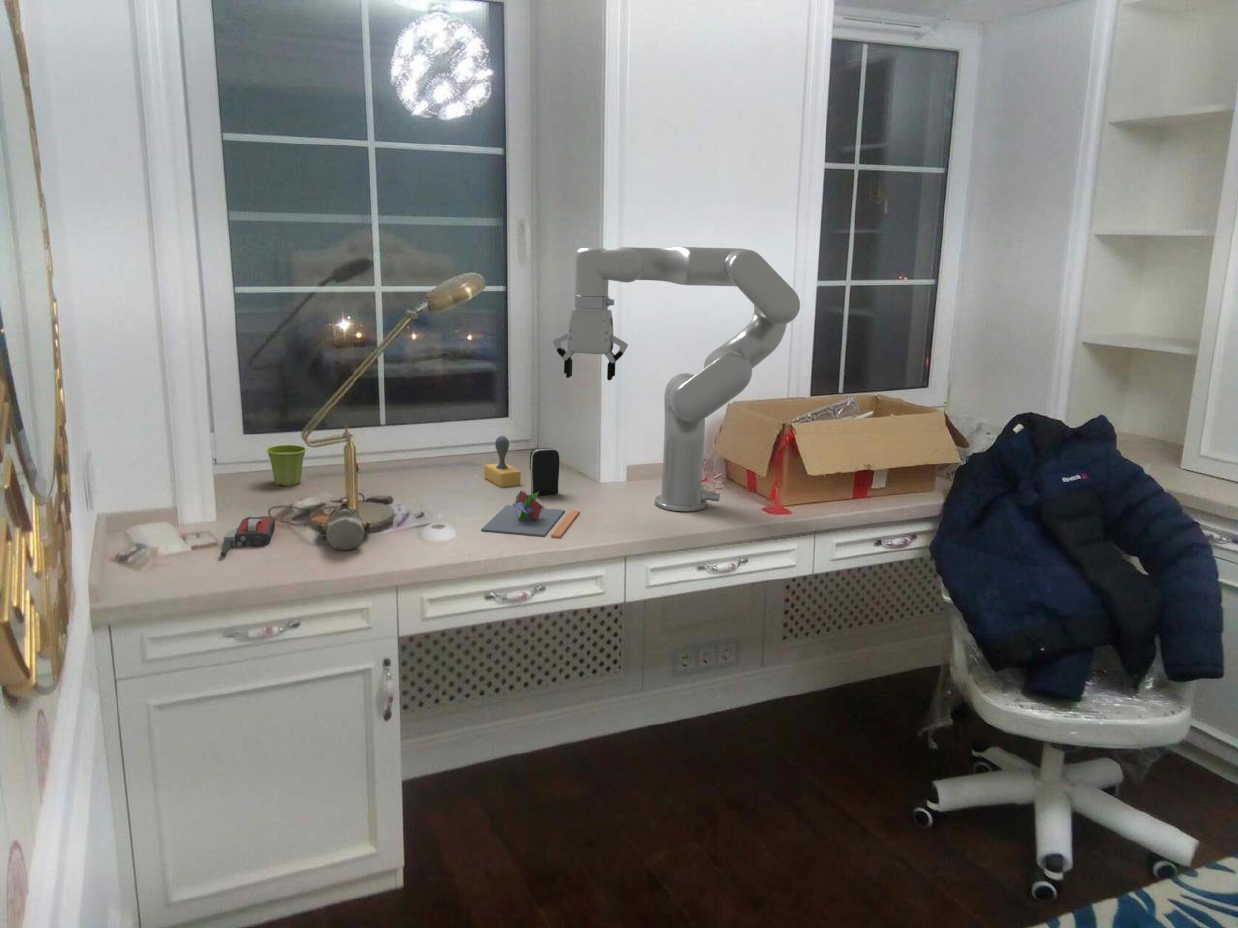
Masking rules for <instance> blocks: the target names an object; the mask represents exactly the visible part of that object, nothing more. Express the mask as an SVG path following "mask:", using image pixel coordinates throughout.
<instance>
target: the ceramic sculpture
mask: <svg viewBox="0 0 1238 928" xmlns="http://www.w3.org/2000/svg"><path fill="white" fill-rule="evenodd" d="M328 515H329V516H328V518H327V520H326V523H324V522H320V523H319V524H318V525H317V530H318V531H319V533H320V534H322V535H323V536H325V537H326V539H327V541H328V544H329V545H330V546H331V547H332V548H333V549H335V550H337V551H338V550H339V551H344V552H345V551H352V550H354V549H358V547H360V545H361V544H362V543H363V541H364V538H365V534H366V533H367V532H368V531H369V530H370V527H371V523H370V522H369V521H367V522H365V523H363V521H364V520H362V517H361V516H360V513H359V511H357V509H355V508H354V507H350V506H349V505H348V504H347V503H342V504H340V506H339V507H336V508H334V509H333V510H332V511H331V512H330V513H329V514H328Z"/></svg>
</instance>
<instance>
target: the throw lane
mask: <svg viewBox="0 0 1238 928" xmlns="http://www.w3.org/2000/svg"><path fill="white" fill-rule="evenodd" d="M513 506H514V505H511V504H506V505H505V506H504V507H503V508H502V509H501V510H500V511H499V512H498V513H496V514H495V516H494V517H492V519H490V521H489V520H488V522H487V523H486V524H485V525H484V526H483V527H482V528H481V529H480V530H481V531H480V532H487V533H488V532H489V533H497V534H499V533H500V534H507V535H508V534H509V535H522V536H532V537H533V536H534V537H542V538H543V537H544V538H545V536H546V535H547V534H548V533H549V531H550V530H551V529H552V528H553V527H554V525H555V524H556V523H557V522H558V520H559V519H560V518H561V516H563V514H564V513H565V512H566V510H565V509H557V508H555V509H554V508H547V507H545V508H543V509H541V512H540V514H541V515H540V514H539V516H540V517H538V520H537V521H535V520H534V519H532V518H531V517H530V516H529V517H527V518H524V519H521V520H519V521H518V519H519V518H520V515H521V512H522V511H521V510H520V509H518V508H517V507H515V506H514V507H513ZM516 511H517V512H516ZM516 514H517V515H518V516H517V515H516ZM579 514H580V510H574V509H571V510H570V511H568V513H567V515H566V516H564V518H563V519H562V521H561V522H560V523H559V524H558V525H557V527H556V528H555V530H553V532H552V533H551V534H550V538H552V539H553V538H554V539H556V538H557V539H561V538H562V536H563V535H564V534H565V532H566V531H567V530H568V529H569V528H570V526H571V525H572V524H573V522H574V521H575V519H576V518H577V517H578V516H579ZM522 520H524V521H522Z"/></svg>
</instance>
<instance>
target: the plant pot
mask: <svg viewBox="0 0 1238 928" xmlns="http://www.w3.org/2000/svg"><path fill="white" fill-rule="evenodd" d="M307 450H308V449H307V447H305V446H302V445H296V444H279V445H273V446H270V447H268V448H266V450H265V451H266V453H267V454H268V457H269V459H270V465H271V469H272V475H273V480H274V484H275V485H277V486H278V485H279V486H280V485H281V486H284V487H287V486H288V487H289V486H296V485H297V484H301V481H302V472H303V462H304V457H305V452H307Z"/></svg>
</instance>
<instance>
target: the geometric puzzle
mask: <svg viewBox="0 0 1238 928" xmlns="http://www.w3.org/2000/svg"><path fill="white" fill-rule="evenodd" d="M534 492H535V491H534ZM538 492H539V491H538ZM538 492H536V493H533V494H532V493H530V494H527V493H526V491H524V490H519V492H518V493H517V494H516V496H515V500H514V501H513V503H512V505H511V506H513V507H514V506H515V507H517V508H518V509H520V510H521V511H522V512H521V515H520V518H519V519H518V521H519V520H521V519H524V518H527V517H529V516H530V517H531V518H532V519H534V520H535V521H537V520H538V517H540V516H539V514H540V512H541V509H543V508H546V507H545V506H544V505H543V501H542V500H543V499H542V497H541V496H542V495H540V494H539V495H538ZM538 496H539V499H540V501H541V502H538V501H537V497H538ZM516 512H517V511H516ZM516 515H517V514H516ZM540 515H541V514H540ZM517 516H518V515H517ZM522 521H524V520H522Z"/></svg>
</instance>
